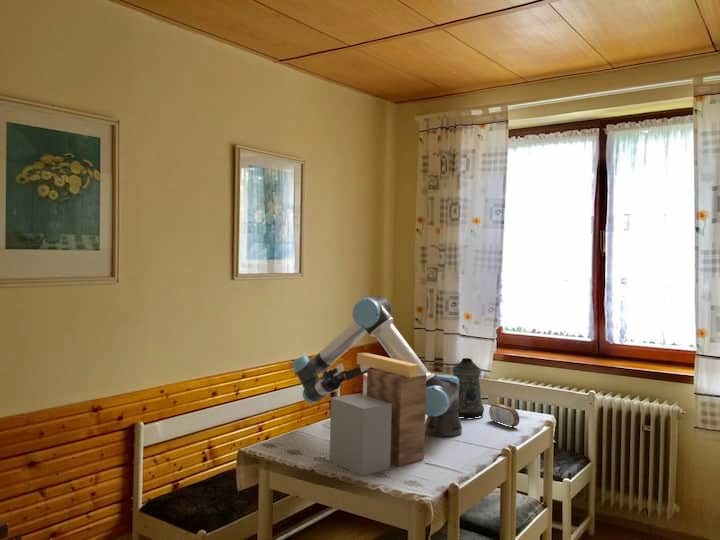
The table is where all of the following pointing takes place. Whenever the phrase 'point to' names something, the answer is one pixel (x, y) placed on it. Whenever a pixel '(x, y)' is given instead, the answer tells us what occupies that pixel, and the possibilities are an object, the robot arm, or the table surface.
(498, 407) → the tin
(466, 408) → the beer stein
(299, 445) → the table surface
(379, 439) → the grey base
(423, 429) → the walnut pedestal
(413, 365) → the ochre bar
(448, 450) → the table surface
